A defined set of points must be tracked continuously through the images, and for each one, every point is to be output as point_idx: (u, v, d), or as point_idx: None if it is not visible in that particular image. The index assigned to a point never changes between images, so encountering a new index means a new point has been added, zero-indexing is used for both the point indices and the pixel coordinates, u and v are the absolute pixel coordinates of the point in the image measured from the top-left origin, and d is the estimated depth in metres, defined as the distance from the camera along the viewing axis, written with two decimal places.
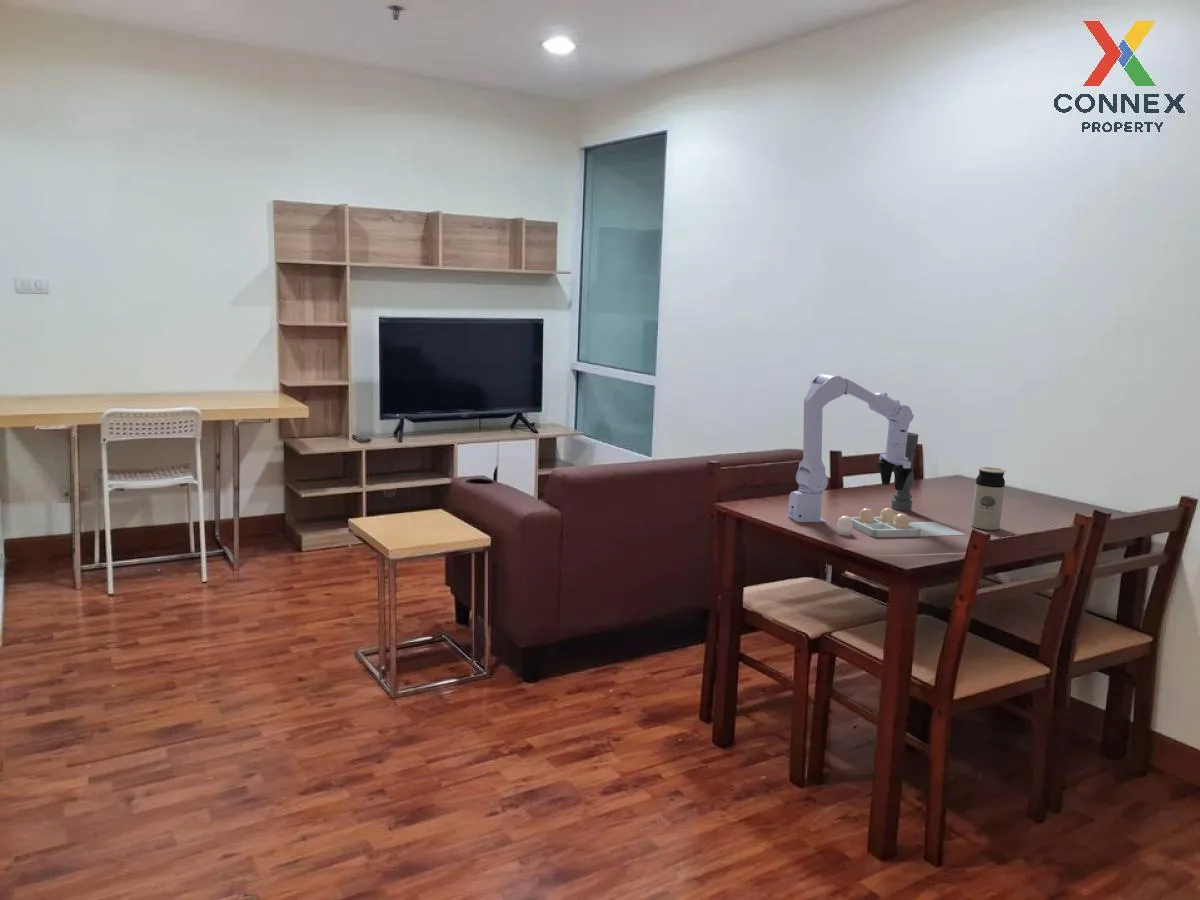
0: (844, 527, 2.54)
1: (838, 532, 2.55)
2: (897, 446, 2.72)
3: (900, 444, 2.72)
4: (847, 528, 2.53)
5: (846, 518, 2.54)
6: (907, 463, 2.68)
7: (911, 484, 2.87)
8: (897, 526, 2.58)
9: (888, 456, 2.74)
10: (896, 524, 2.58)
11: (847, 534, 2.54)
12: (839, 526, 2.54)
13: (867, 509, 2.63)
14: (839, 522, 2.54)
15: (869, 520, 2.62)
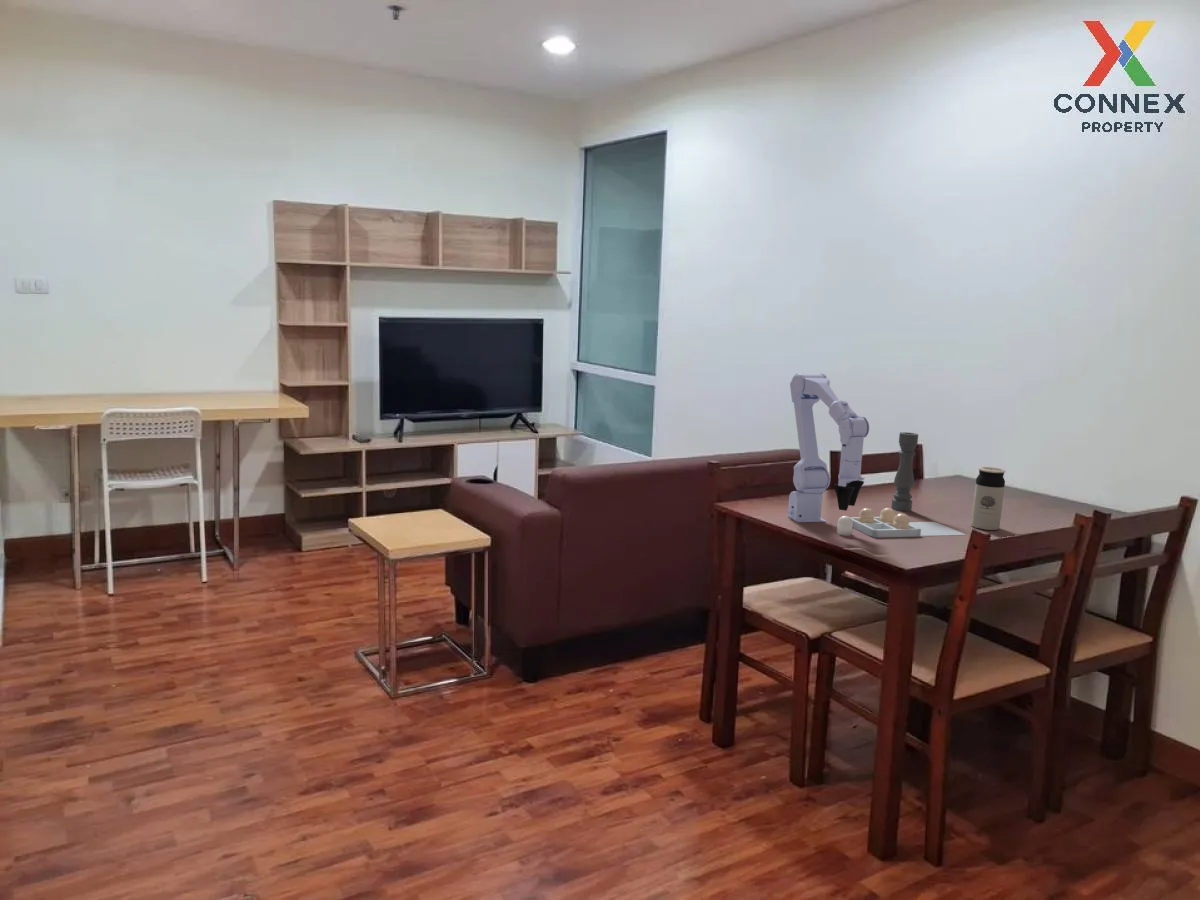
0: (844, 527, 2.54)
1: (838, 532, 2.55)
2: (844, 462, 2.51)
3: (847, 460, 2.50)
4: (847, 528, 2.53)
5: (846, 518, 2.54)
6: (841, 480, 2.47)
7: (911, 484, 2.87)
8: (897, 526, 2.58)
9: (839, 473, 2.54)
10: (896, 524, 2.58)
11: (847, 534, 2.54)
12: (839, 526, 2.54)
13: (867, 509, 2.63)
14: (839, 522, 2.54)
15: (869, 520, 2.62)
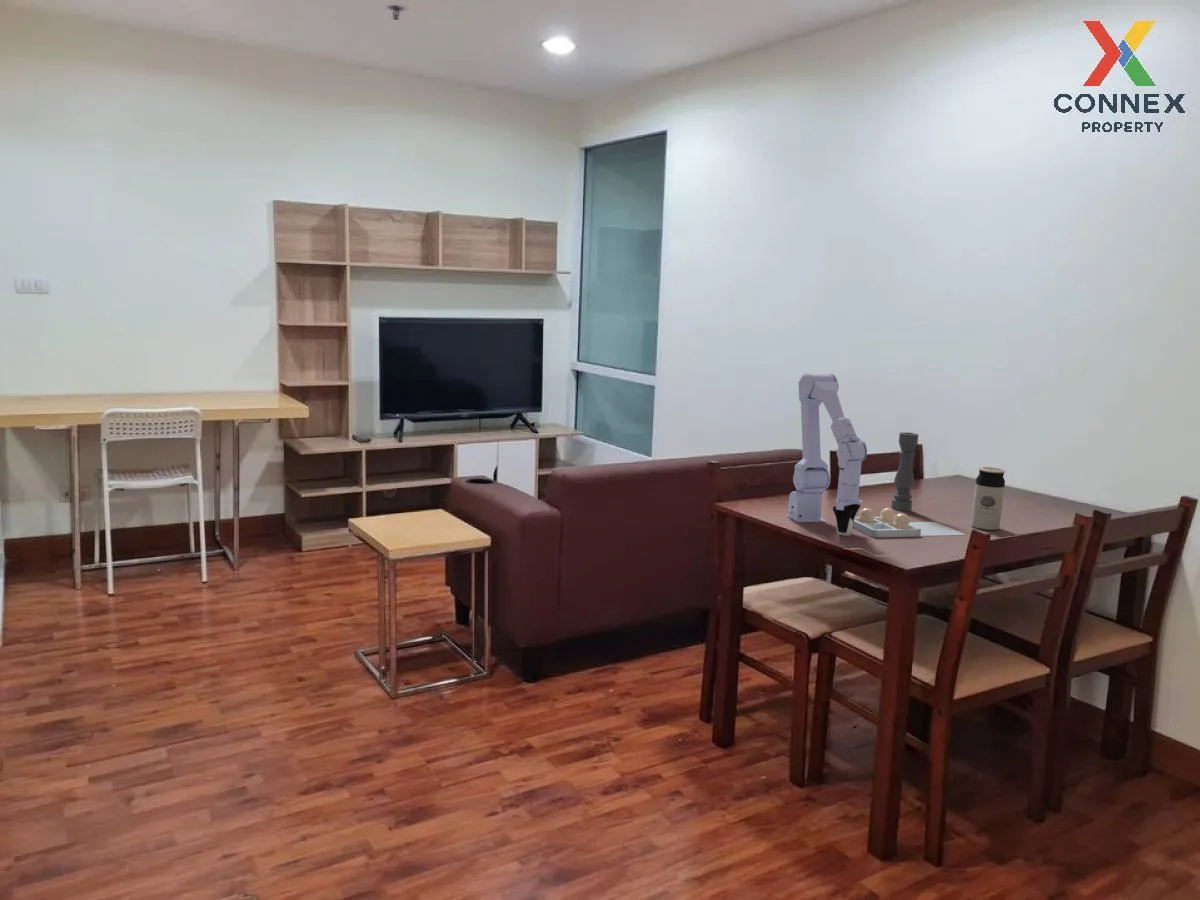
0: None
1: (838, 532, 2.55)
2: (841, 486, 2.52)
3: (844, 484, 2.51)
4: None
5: None
6: (839, 504, 2.48)
7: (911, 484, 2.87)
8: (897, 526, 2.58)
9: (837, 496, 2.55)
10: (896, 524, 2.58)
11: (847, 534, 2.54)
12: None
13: (867, 509, 2.63)
14: None
15: (869, 520, 2.62)
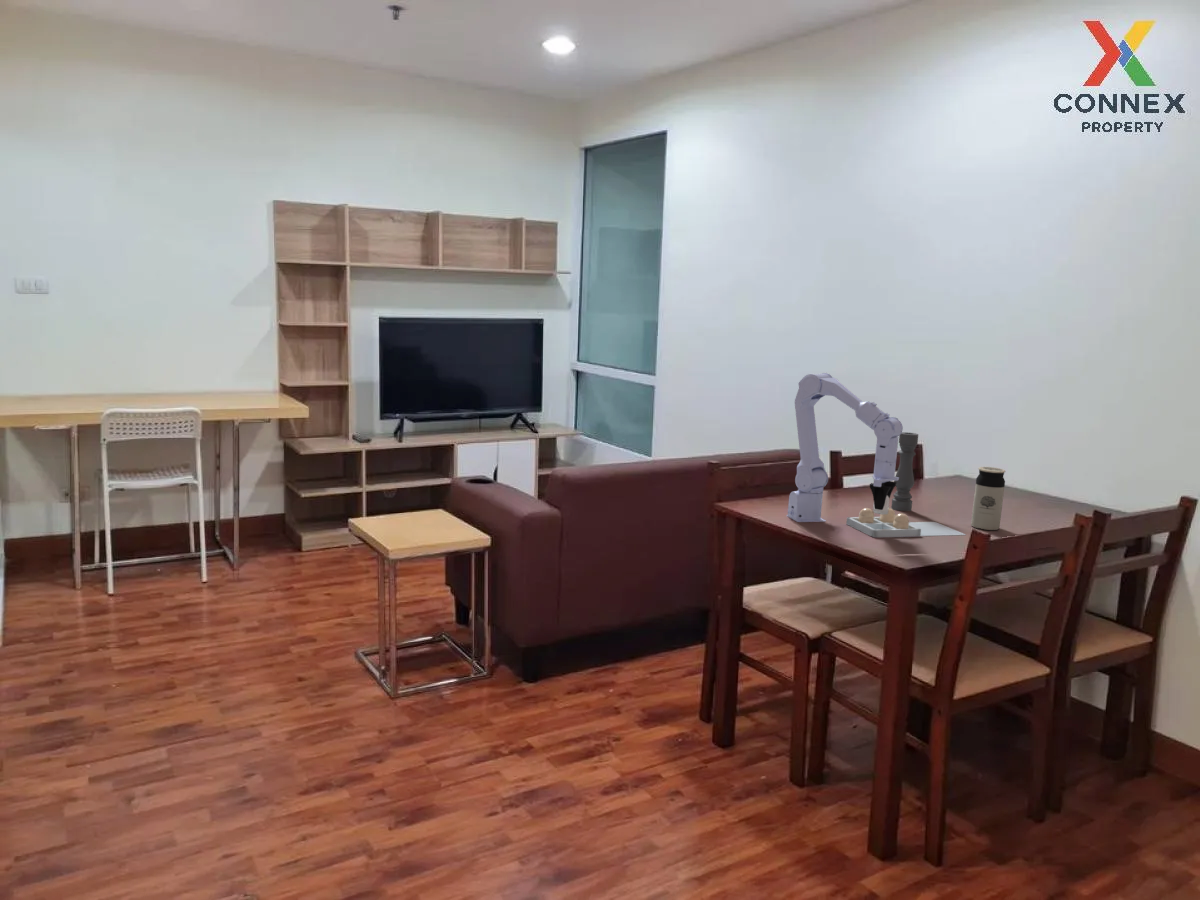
0: None
1: (875, 509, 2.56)
2: (878, 463, 2.53)
3: (881, 461, 2.52)
4: (884, 505, 2.54)
5: None
6: (876, 481, 2.49)
7: (911, 484, 2.87)
8: (897, 526, 2.58)
9: None
10: (896, 524, 2.58)
11: (884, 511, 2.55)
12: None
13: (867, 509, 2.63)
14: None
15: (869, 520, 2.62)
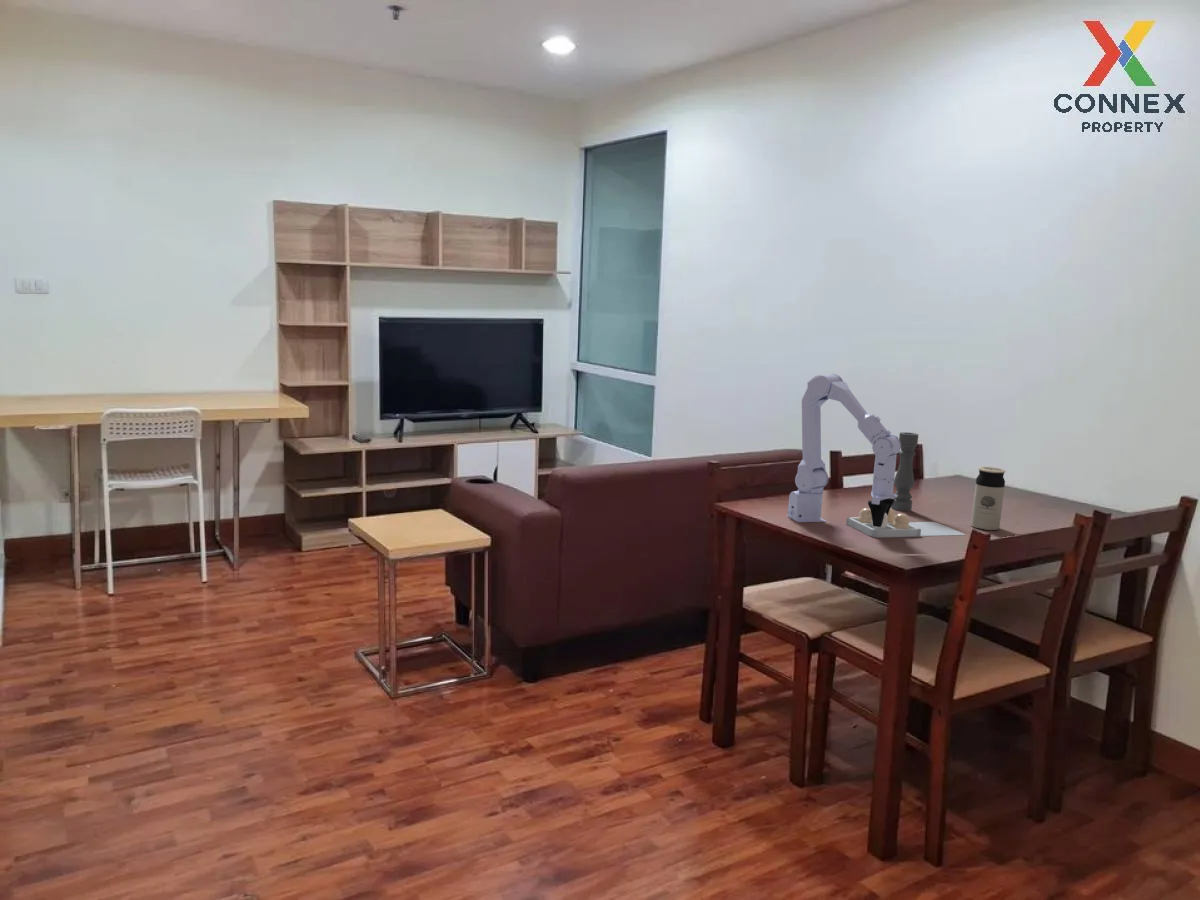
0: None
1: (873, 526, 2.57)
2: (877, 480, 2.54)
3: (880, 478, 2.53)
4: (882, 522, 2.55)
5: None
6: (875, 498, 2.50)
7: (911, 484, 2.87)
8: (897, 526, 2.58)
9: (872, 490, 2.57)
10: (896, 524, 2.58)
11: (882, 528, 2.56)
12: None
13: (867, 509, 2.63)
14: None
15: (869, 520, 2.62)
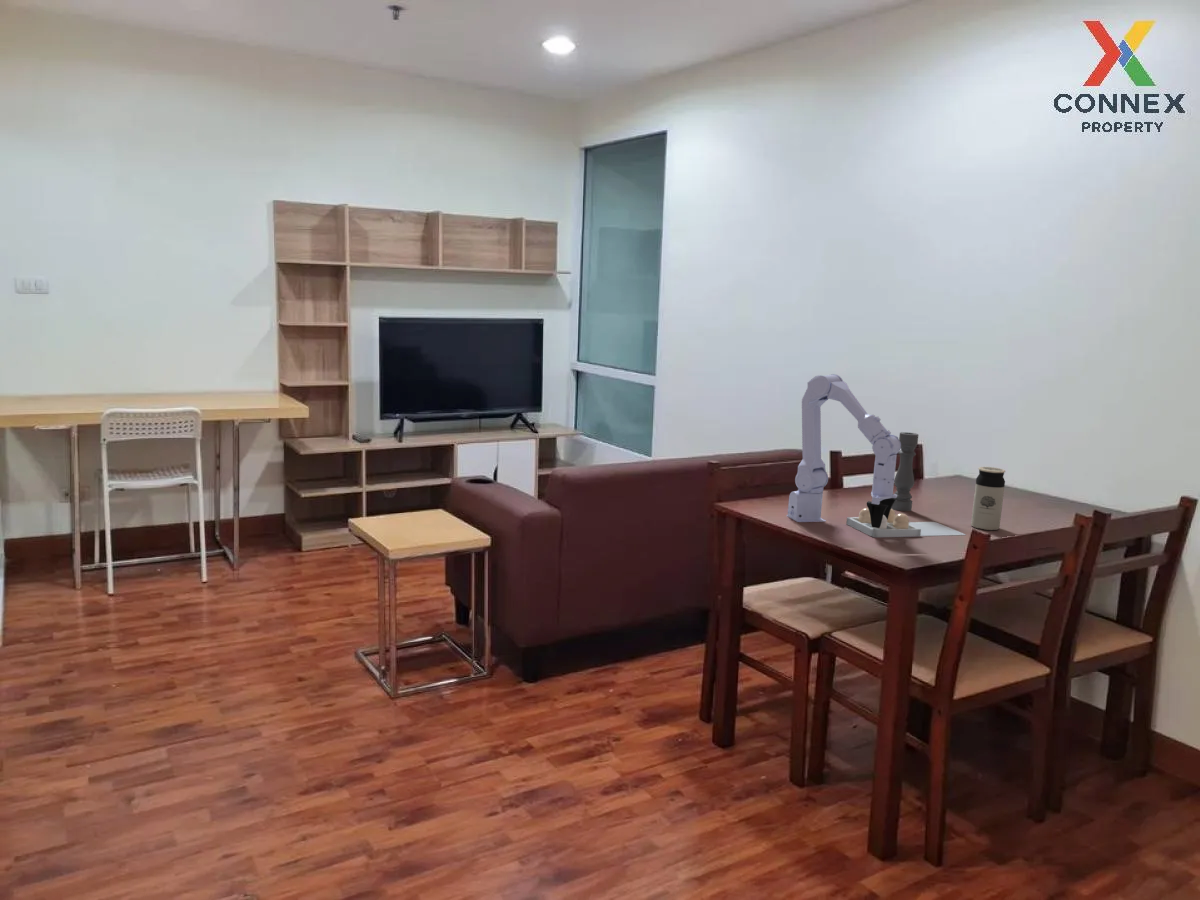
0: None
1: None
2: (877, 480, 2.54)
3: (880, 478, 2.53)
4: (882, 526, 2.55)
5: None
6: (875, 498, 2.50)
7: (911, 484, 2.87)
8: (897, 526, 2.58)
9: (872, 490, 2.57)
10: (896, 524, 2.58)
11: None
12: None
13: (867, 509, 2.63)
14: None
15: (869, 520, 2.62)
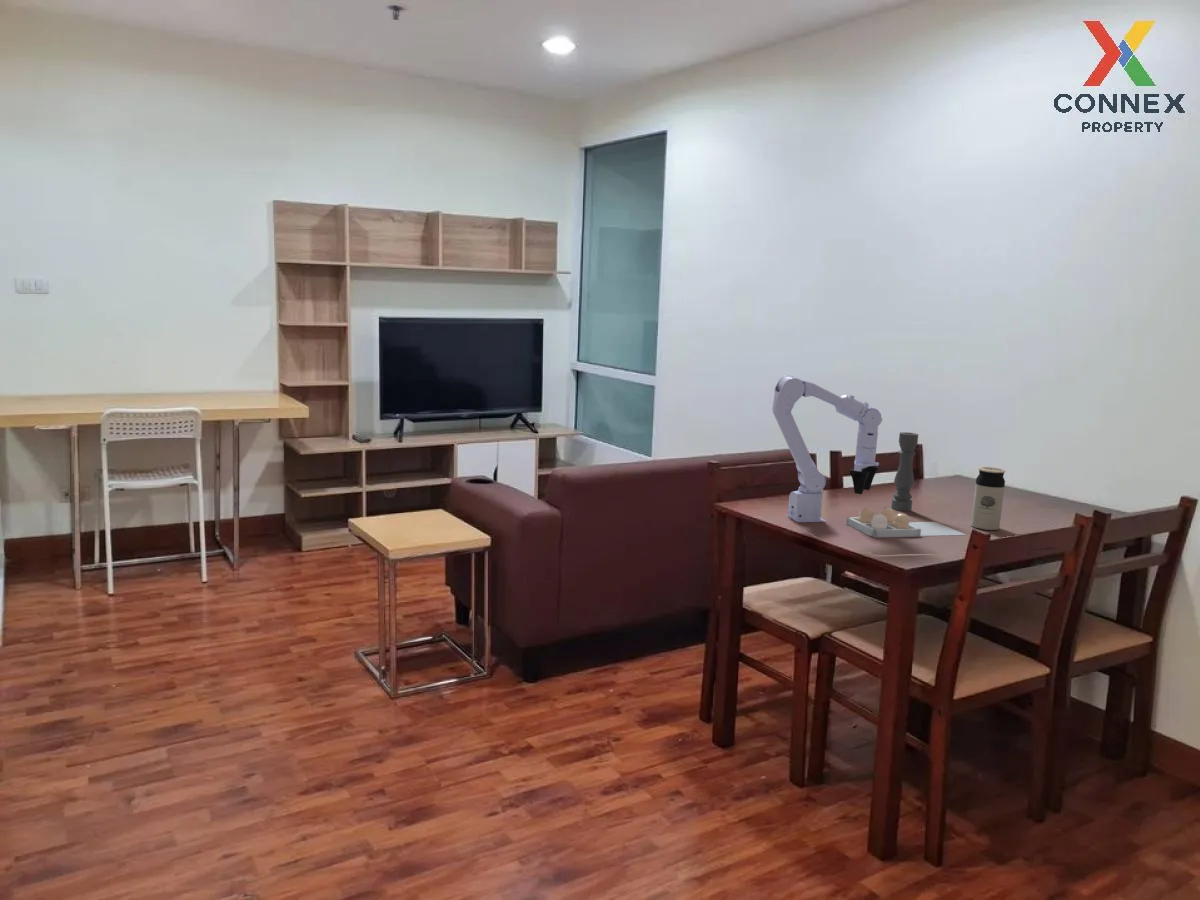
0: (878, 524, 2.56)
1: None
2: (859, 449, 2.67)
3: (862, 447, 2.67)
4: (882, 526, 2.55)
5: (881, 516, 2.56)
6: (857, 466, 2.64)
7: (911, 484, 2.87)
8: (897, 526, 2.58)
9: (855, 459, 2.70)
10: (896, 524, 2.58)
11: None
12: (874, 524, 2.56)
13: (867, 509, 2.63)
14: (874, 520, 2.56)
15: (869, 520, 2.62)
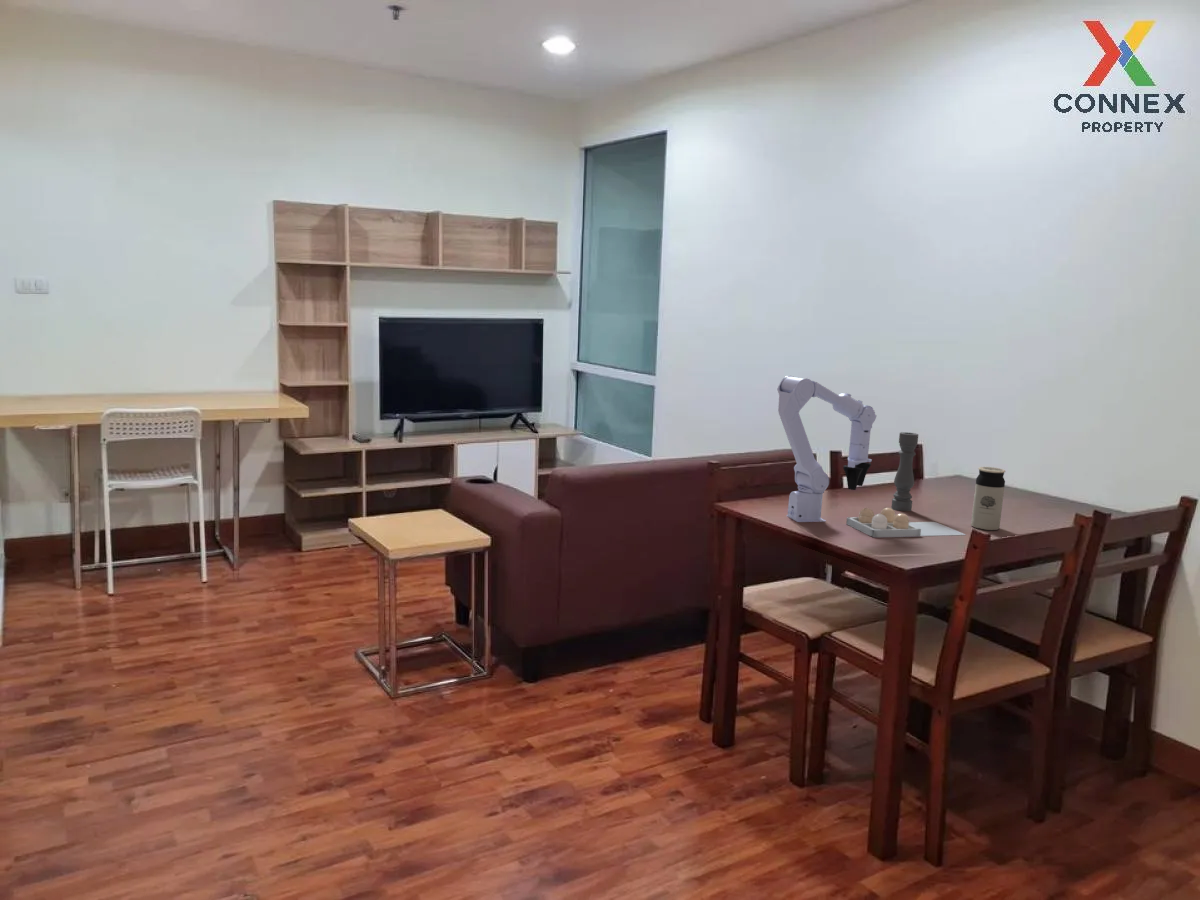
0: (878, 524, 2.56)
1: None
2: (853, 445, 2.73)
3: (855, 444, 2.72)
4: (882, 526, 2.55)
5: (881, 516, 2.56)
6: (850, 462, 2.69)
7: (911, 484, 2.87)
8: (897, 526, 2.58)
9: None
10: (896, 524, 2.58)
11: None
12: (874, 524, 2.56)
13: (867, 509, 2.63)
14: (874, 520, 2.56)
15: (869, 520, 2.62)
